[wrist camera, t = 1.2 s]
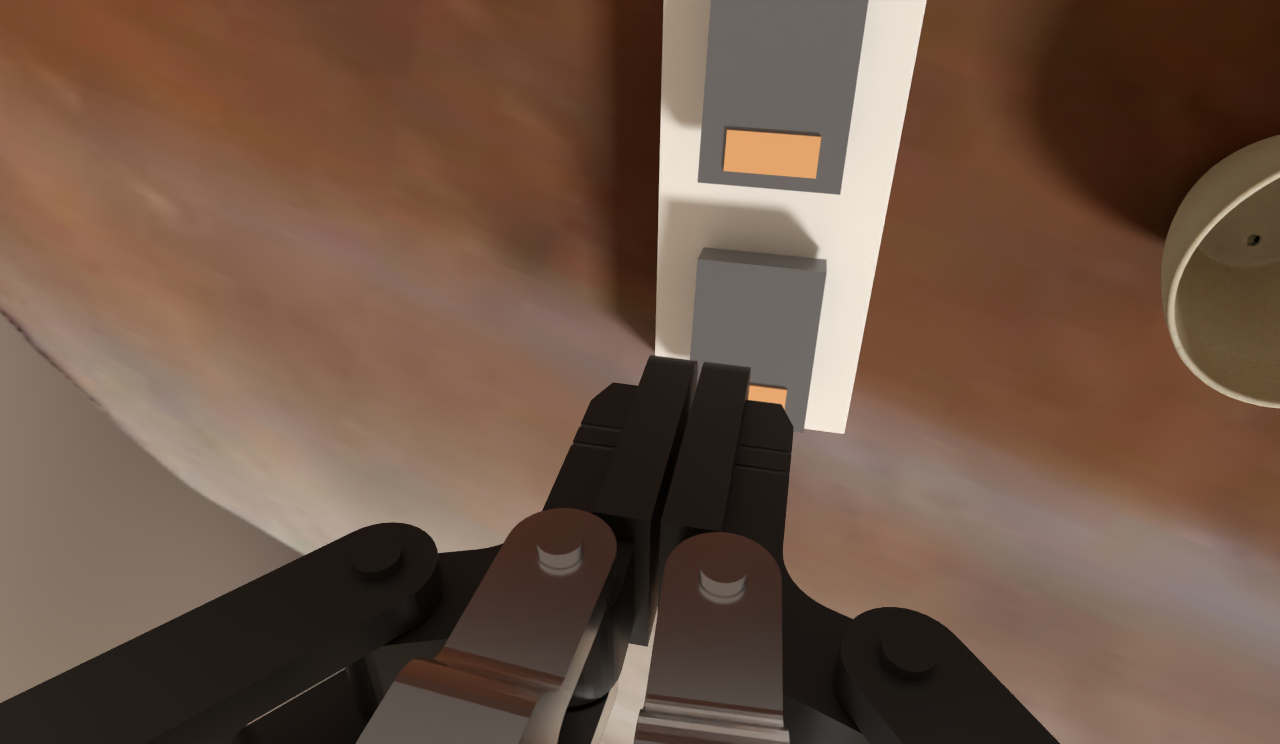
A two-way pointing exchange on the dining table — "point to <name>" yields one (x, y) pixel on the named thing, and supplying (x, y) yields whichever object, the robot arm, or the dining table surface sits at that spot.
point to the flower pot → (1229, 276)
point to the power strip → (784, 196)
